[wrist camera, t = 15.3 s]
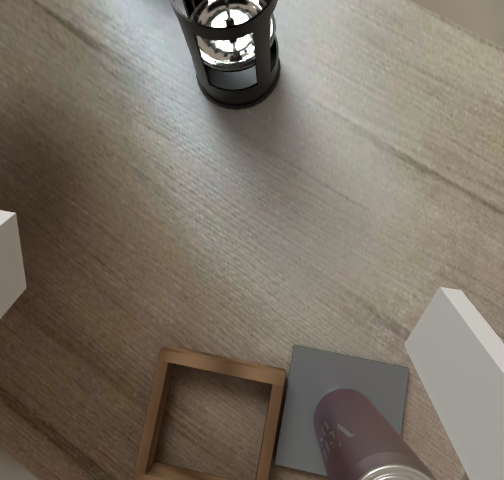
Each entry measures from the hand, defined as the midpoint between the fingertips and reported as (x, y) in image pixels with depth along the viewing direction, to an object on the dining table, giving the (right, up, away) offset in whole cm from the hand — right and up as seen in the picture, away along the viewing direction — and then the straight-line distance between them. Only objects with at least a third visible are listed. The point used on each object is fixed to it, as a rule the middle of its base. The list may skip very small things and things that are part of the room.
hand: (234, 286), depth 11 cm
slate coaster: (+9, -15, +23) cm, 29 cm away
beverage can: (+9, -16, +22) cm, 29 cm away
